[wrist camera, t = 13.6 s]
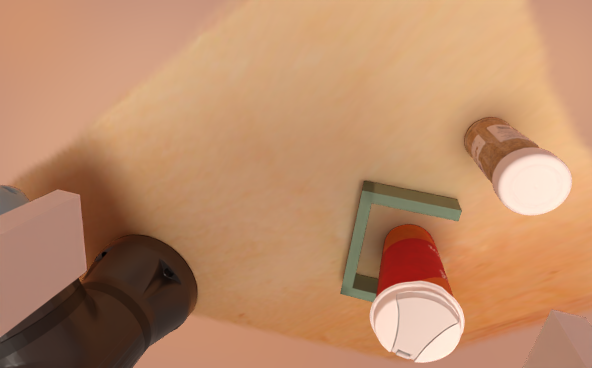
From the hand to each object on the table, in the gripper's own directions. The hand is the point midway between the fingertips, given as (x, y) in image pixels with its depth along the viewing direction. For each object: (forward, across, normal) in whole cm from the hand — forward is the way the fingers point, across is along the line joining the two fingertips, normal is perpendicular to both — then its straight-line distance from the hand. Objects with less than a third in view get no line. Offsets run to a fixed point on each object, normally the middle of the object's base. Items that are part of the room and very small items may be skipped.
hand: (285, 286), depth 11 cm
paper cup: (+32, +8, -15) cm, 36 cm away
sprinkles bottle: (+32, +13, -1) cm, 35 cm away
